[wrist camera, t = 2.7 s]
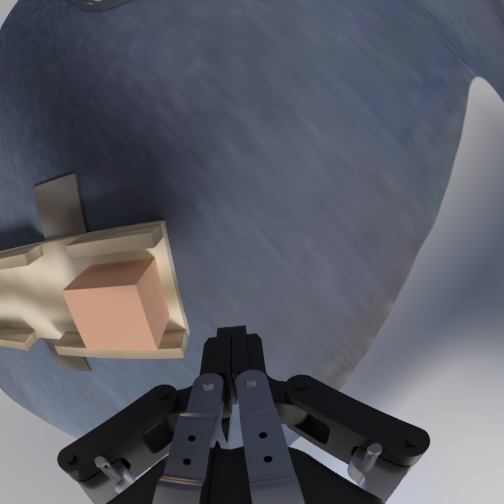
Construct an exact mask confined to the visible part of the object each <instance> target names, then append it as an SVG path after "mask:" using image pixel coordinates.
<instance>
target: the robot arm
mask: <svg viewBox="0 0 504 504" xmlns="http://www.w3.org/2000/svg"><path fill="white" fill-rule="evenodd" d="M70 1H72V2H73V3H74V4H75V5H77V6H78V7H79V8H81V9H82V10H85V11H91V12H96V11H102V10H107V9H110V8H113V7H116V6H118V5H121V4H123V3H125V2H127V1H129V0H70ZM237 399H238V404H239V409H240V423H241V430H242V437H243V444H244V446H243V447H239V448H235V449H230V437H231V427H232V405H233V404H237ZM160 421H161V422H160ZM159 422H160V423H159ZM281 423H282V424H286V425H287V426H288V428H290V429H291V430H293V431H294V432H296V433H297V434H299V435H300V436H302V437H303V438H305V439H306V440H308V441H309V442H311V443H313V444H314V445H316V446H318V447H319V448H321V449H322V450H324V451H326V452H327V453H329V454H331V455H332V456H334V457H336V458H338V459H339V460H341V461H343V462H345V463H347V464H348V469H347V470H348V475H349V476H350V478H351V479H353V480H354V481H355V482H356V483H357V484H358V486H357V485H355V484H353V483H351V482H350V481H348V480H347V479H345V478H343V477H342V476H340V475H339V474H337V473H335V472H334V471H332V470H331V469H329V468H328V467H326V466H324V465H323V464H321V463H320V462H318V461H317V460H316V459H314V458H313V457H311V456H310V455H308V454H306V453H305V452H303V451H300V450H298V449H295V448H291V447H287V443H286V440H285V436H284V433H283V429H282V425H281ZM156 424H157V425H156ZM155 425H156V426H155ZM154 426H155V427H154ZM151 428H152V429H151ZM150 429H151V430H150ZM147 431H148V432H147ZM146 432H147V433H146ZM429 444H430V437H429V435H428V433H427V432H426V431H425V430H423V429H421V428H419V427H416V426H414V425H411V424H409V423H407V422H404V421H402V420H399V419H397V418H395V417H392V416H390V415H388V414H385V413H383V412H381V411H379V410H377V409H374V408H372V407H370V406H368V405H366V404H364V403H362V402H360V401H358V400H355V399H353V398H351V397H349V396H347V395H345V394H343V393H341V392H339V391H337V390H335V389H333V388H331V387H330V386H328V385H326V384H324V383H322V382H320V381H318V380H316V379H314V378H312V377H310V376H308V375H296V376H293V377H291V378H289V379H288V380H287V382H284V381H277V380H274V379H272V378H270V377H269V376H268V375H267V373H266V369H265V362H264V355H263V348H262V341H261V338H260V337H259V336H258V335H257V334H256V333H255V334H247V331H246V325H244V326H234V327H223V328H218V329H217V337H213V338H208V340H207V341H206V342H205V344H204V349H203V357H202V363H201V370H200V376H198V377H197V378H196V379H195V381H194V383H193V385H192V386H190V387H188V388H185V389H181V390H176V389H175V388H174V387H173V386H171V385H159V386H156V387H154V388H153V389H151V390H150V391H149V392H147V393H146V394H144V395H143V396H142V397H140V398H139V399H137V400H136V401H135V402H133V403H132V404H130V405H129V406H127V407H126V408H125V409H123V410H122V411H120V412H119V413H117V414H116V415H114V416H113V417H111V418H110V419H108V420H107V421H105V422H104V423H102V424H101V425H99V426H98V427H96V428H95V429H93V430H92V431H90V432H89V433H87V434H86V435H84V436H82V437H81V438H79V439H78V440H76V441H75V442H73V443H72V444H70V445H69V446H67V447H65V448H64V449H62V450H61V451H60V452H59V455H58V458H57V460H58V464H59V466H60V467H61V468H62V469H63V470H64V471H65V472H66V473H67V474H69V475H70V476H71V478H72V479H74V480H75V481H76V482H78V483H79V484H80V486H81V487H82V488H83V490H84V491H85V493H86V494H87V495H88V497H89V498H90V499H91V501H92V502H93V503H94V504H385V502H386V501H387V500H388V498H389V497H390V496H391V494H392V493H393V492H394V490H395V489H396V487H397V486H398V485H399V483H400V482H401V480H402V479H403V478H404V476H405V475H406V474H407V473H408V472H409V471H410V470H411V468H412V467H413V466H414V465H415V464H416V463H417V461H418V460H419V459H420V458H421V456H422V455H423V454H424V453H425V451H426V450H427V449H428V447H429ZM168 452H169V455H168V456H166V457H165V458H163V459H162V460H160V461H159V462H158V463H157V464H156V465H154V466H153V467H152V468H151V469H150V470H149V471H147V472H146V473H145V474H144V475H142V476H141V477H140V478H139V479H138V480H136V481H135V478H136V477H137V476H139V475H140V474H141V473H143V472H144V471H145V470H147V469H148V468H149V467H150V466H152V465H153V464H154V463H156V462H157V461H158V460H159V459H161V458H162V457H163V456H164V455H166V454H167V453H168Z"/></svg>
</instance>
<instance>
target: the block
mask: <svg viewBox="0 0 504 504" xmlns="http://www.w3.org/2000/svg"><path fill="white" fill-rule="evenodd" d="M62 292H63V294H64V297H65V300H66V302H67V305H68V307H69V310H70V312H71V315H72V317H73V319H74V322H75V324H76V326H77V329H78V331H79V333H80V335H81V337H82V340H83V342H84V344H85V346H86V348H87V349H89V350H121V351H148V350H158V347H159V345H160V342H161V339H162V336H163V333H164V330H165V327H166V325H167V322H168V319H169V316H170V314H169V310H168V306H167V303H166V299H165V295H164V291H163V288H162V284H161V280H160V276H159V271H158V267H157V263H156V258H148V259H140V260H131V261H123V262H115V263H106V264H98V265H90V266H89V267H88V268H86V269H85V270H84V271H83V272H82V273H81V274H80V275H79V276H77V277H76V278H75V279H74V280H73V281H72V282H71V283H70V284H69V285H68V286H67V287H65V288H64V289H63V290H62Z"/></svg>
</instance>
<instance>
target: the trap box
mask: <svg viewBox="0 0 504 504" xmlns="http://www.w3.org/2000/svg"><path fill="white" fill-rule="evenodd" d="M34 190H35V196H36V202H37V207H38V212H39V217H40V222H41V226H42V230H43V235H44V239H45V241H43V242H38V243H33V244H29V245H24V246H20V247H16V248H11V249H7V250H3V251H0V346H3V347H9V348H15V349H21V350H27V351H28V350H29V349H30V348H31V346H32V345H33V344H34V343H35V342H36V340H37V339H38V338H44V340H45V342H46V344H47V346H48V347H49V349H50V351H51V353H52V355H53V357H54V358H55V360H56V362H57V364H58V365H59V367H60V368H64V369H71V370H80V371H90V372H91V368H90V366H89V364H88V362H87V360H86V359H85V357H98V358H124V359H166V358H184V356H185V352H186V347H187V342H188V338H189V333H190V331H189V327H188V323H187V319H186V316H185V312H184V308H183V304H182V300H181V295H180V291H179V287H178V283H177V278H176V274H175V269H174V264H173V260H172V255H171V250H170V245H169V240H168V234H167V229H166V223H165V220H160V221H153V222H147V223H140V224H134V225H128V226H122V227H116V228H110V229H104V230H99V231H93V232H88V231H87V227H86V223H85V218H84V213H83V208H82V203H81V197H80V191H79V185H78V178H77V173H74V174H70V175H67V176H64V177H61V178H58V179H55V180H52V181H49V182H47V183H44V184H41V185H38V186H36V187H34ZM148 258H156V263H157V267H158V271H159V276H160V280H161V284H162V288H163V291H164V295H165V299H166V303H167V306H168V310H169V314H170V316H169V319H168V322H167V325H166V327H165V330H164V333H163V336H162V339H161V342H160V345H159V347H158V350H148V351H121V350H89V349H87V348H86V346H85V344H84V342H83V340H82V337H81V335H80V333H79V331H78V329H77V326H76V324H75V322H74V319H73V317H72V315H71V312H70V310H69V307H68V305H67V302H66V300H65V297H64V294H63V292H62V290H63V289H64V288H65V287H67V286H68V285H69V284H70V283H71V282H72V281H73V280H74V279H75V278H76V277H77V276H79V275H80V274H81V273H82V272H83V271H84V270H85V269H86V268H88V267H89V266H90V265H98V264H106V263H115V262H123V261H131V260H140V259H148Z"/></svg>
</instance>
